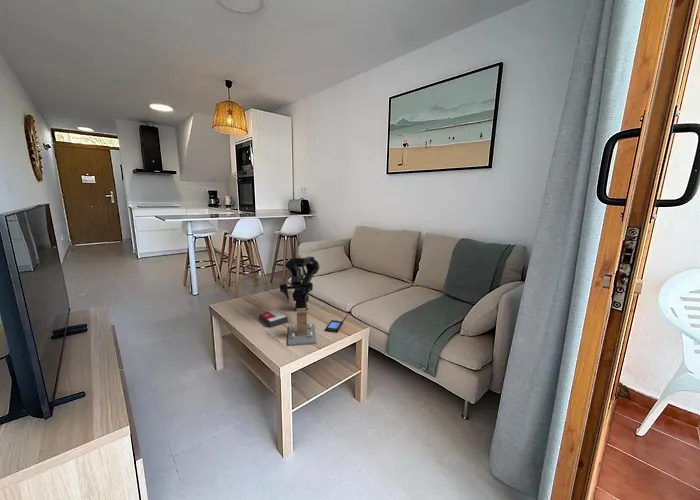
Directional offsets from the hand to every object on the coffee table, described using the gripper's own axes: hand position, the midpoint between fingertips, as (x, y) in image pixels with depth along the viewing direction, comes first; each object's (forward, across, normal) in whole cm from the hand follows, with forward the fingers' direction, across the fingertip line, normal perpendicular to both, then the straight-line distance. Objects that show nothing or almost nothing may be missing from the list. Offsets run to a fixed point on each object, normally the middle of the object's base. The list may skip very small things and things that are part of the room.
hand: (296, 300), depth 165 cm
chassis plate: (+20, +2, -1) cm, 20 cm away
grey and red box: (+6, -14, +14) cm, 21 cm away
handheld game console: (+16, +22, +4) cm, 28 cm away
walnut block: (+19, +2, -2) cm, 20 cm away
